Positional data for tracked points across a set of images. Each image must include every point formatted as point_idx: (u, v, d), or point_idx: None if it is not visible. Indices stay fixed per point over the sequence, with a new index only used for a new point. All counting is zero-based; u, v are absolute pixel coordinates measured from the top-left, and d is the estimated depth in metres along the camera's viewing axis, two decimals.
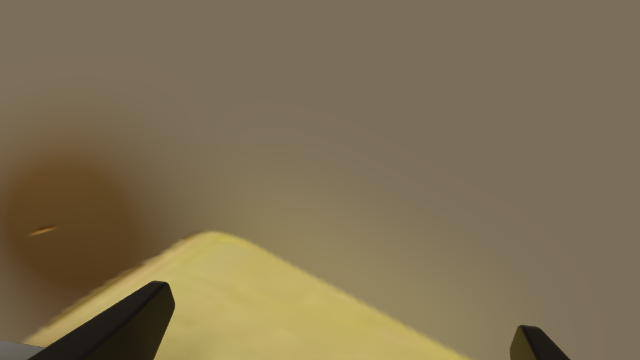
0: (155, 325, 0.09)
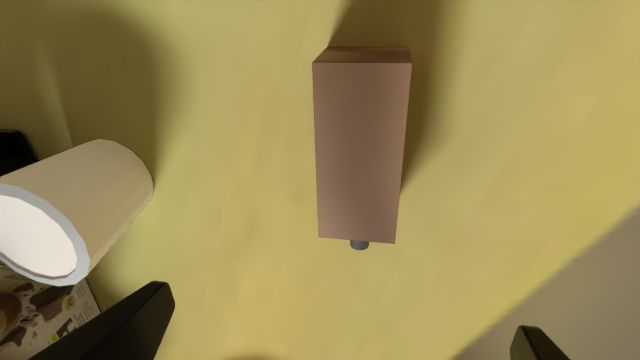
0: (155, 325, 0.09)
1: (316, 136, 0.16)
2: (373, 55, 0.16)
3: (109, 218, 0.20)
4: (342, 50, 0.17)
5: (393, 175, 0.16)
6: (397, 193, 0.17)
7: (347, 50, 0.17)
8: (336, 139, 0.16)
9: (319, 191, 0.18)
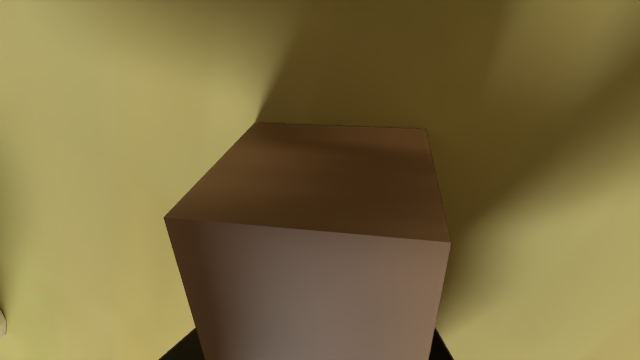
0: None
1: (208, 358, 0.07)
2: (343, 173, 0.06)
3: None
4: (279, 140, 0.08)
5: None
6: None
7: (289, 141, 0.07)
8: None
9: None
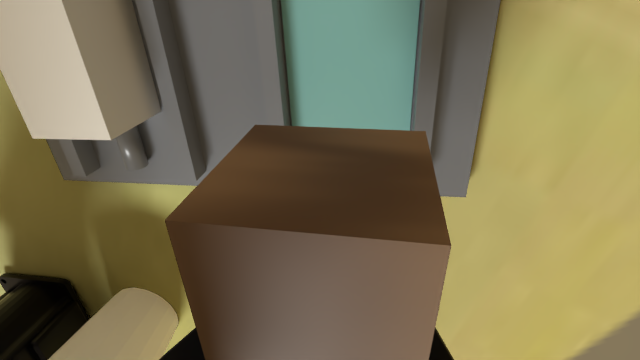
0: None
1: None
2: (343, 176, 0.06)
3: None
4: (279, 142, 0.08)
5: None
6: None
7: (290, 144, 0.07)
8: None
9: None
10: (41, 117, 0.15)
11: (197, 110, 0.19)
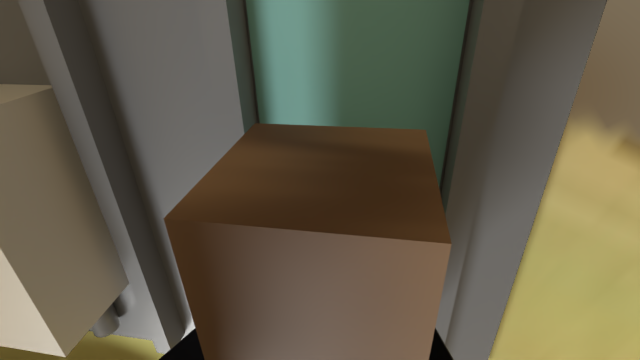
0: None
1: (208, 359, 0.07)
2: (343, 174, 0.06)
3: None
4: (279, 141, 0.08)
5: None
6: None
7: (289, 142, 0.07)
8: None
9: None
10: None
11: (173, 283, 0.16)
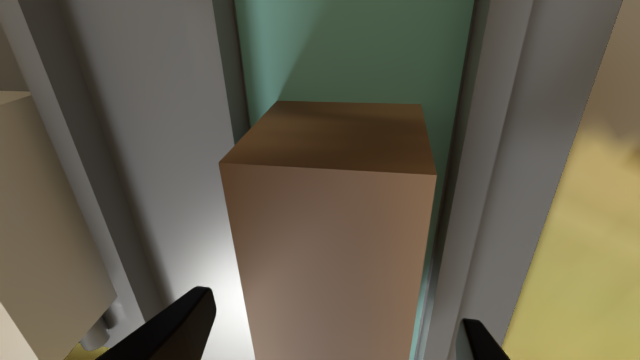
0: (200, 332, 0.09)
1: (244, 287, 0.08)
2: (353, 134, 0.08)
3: None
4: (299, 113, 0.09)
5: (394, 356, 0.09)
6: None
7: (308, 113, 0.09)
8: (282, 294, 0.08)
9: None
10: None
11: (164, 295, 0.16)
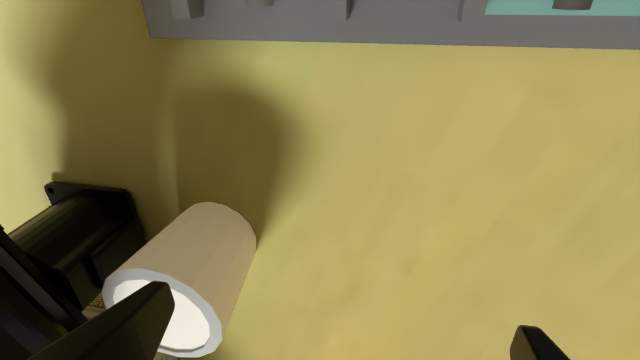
0: (155, 325, 0.09)
1: None
2: None
3: (234, 293, 0.20)
4: None
5: None
6: None
7: None
8: None
9: None
10: None
11: None
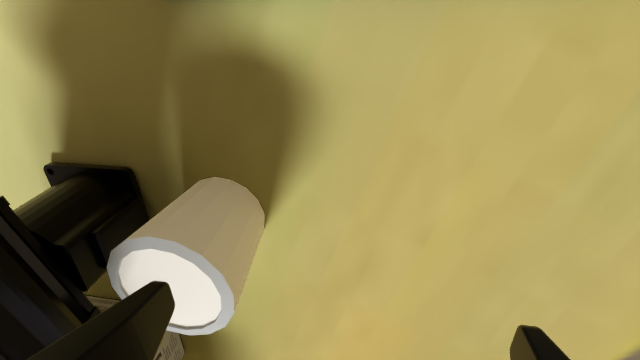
0: (155, 325, 0.09)
1: None
2: None
3: (244, 266, 0.19)
4: None
5: None
6: None
7: None
8: None
9: None
10: None
11: None
